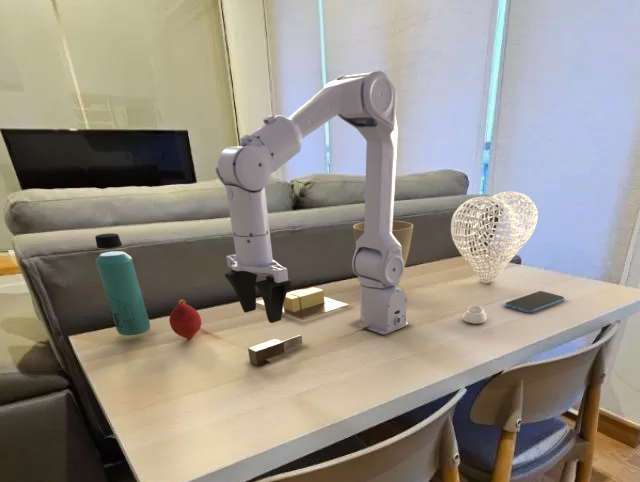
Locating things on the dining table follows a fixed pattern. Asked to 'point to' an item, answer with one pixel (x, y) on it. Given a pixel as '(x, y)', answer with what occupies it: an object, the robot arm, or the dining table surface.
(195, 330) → the onion
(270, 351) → the knife
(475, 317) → the white jar
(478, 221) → the heart
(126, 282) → the beverage bottle
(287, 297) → the butter slice
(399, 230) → the plant pot
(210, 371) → the dining table surface
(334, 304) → the board
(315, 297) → the butter block
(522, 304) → the smartphone
